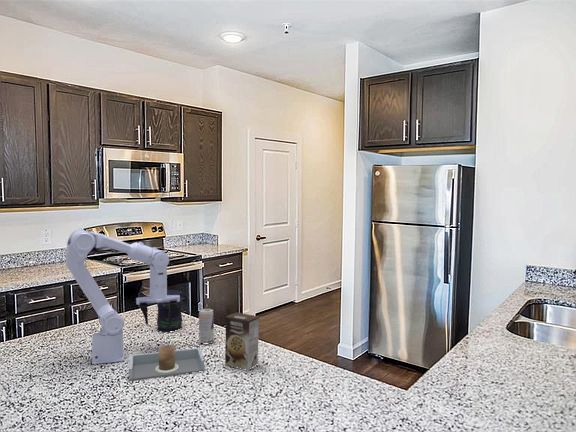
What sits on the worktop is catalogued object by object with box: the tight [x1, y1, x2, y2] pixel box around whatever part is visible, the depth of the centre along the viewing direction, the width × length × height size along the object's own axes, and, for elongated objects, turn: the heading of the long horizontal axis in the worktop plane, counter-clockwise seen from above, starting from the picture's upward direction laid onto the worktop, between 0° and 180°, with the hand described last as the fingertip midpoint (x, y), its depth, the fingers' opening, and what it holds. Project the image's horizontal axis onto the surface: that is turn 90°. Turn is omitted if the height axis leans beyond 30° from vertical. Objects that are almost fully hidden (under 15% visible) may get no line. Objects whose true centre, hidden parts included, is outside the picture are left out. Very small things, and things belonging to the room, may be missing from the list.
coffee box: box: [224, 312, 260, 371], centre depth 133 cm, size 9×6×16 cm
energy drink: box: [198, 308, 215, 344], centre depth 153 cm, size 5×5×12 cm
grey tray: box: [128, 347, 205, 382], centre depth 130 cm, size 22×11×4 cm, turn 109°
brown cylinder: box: [158, 345, 176, 371], centre depth 129 cm, size 5×5×6 cm
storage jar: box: [156, 289, 183, 333], centre depth 168 cm, size 10×10×15 cm
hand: (158, 322), depth 145 cm, fingers open, 7 cm apart
